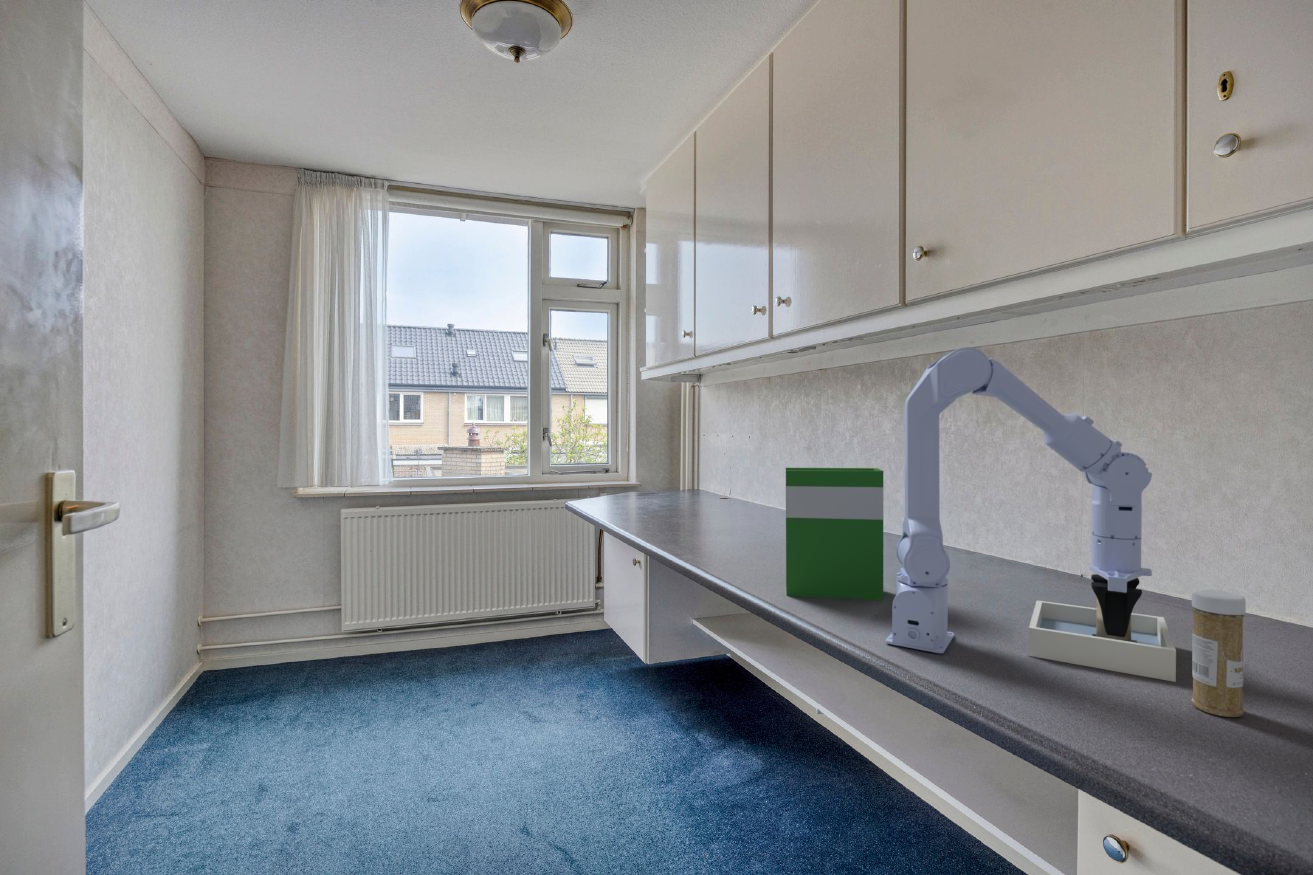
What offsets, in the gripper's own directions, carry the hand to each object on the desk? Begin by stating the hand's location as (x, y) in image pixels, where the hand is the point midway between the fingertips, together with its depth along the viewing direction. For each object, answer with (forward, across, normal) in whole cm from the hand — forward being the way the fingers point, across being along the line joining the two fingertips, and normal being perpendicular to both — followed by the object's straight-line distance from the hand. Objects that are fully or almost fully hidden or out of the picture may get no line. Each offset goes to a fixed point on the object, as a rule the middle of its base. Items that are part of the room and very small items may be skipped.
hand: (1115, 630), depth 89 cm
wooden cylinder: (+2, 0, 0) cm, 2 cm away
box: (+3, 0, +2) cm, 4 cm away
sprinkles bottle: (+3, -15, -9) cm, 18 cm away
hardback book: (+3, +9, +44) cm, 45 cm away
